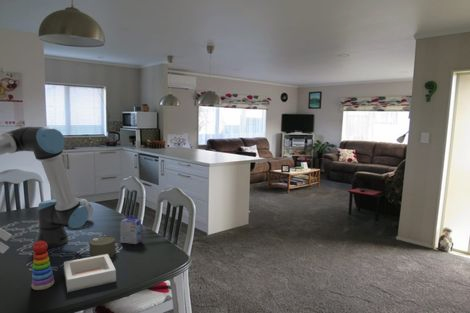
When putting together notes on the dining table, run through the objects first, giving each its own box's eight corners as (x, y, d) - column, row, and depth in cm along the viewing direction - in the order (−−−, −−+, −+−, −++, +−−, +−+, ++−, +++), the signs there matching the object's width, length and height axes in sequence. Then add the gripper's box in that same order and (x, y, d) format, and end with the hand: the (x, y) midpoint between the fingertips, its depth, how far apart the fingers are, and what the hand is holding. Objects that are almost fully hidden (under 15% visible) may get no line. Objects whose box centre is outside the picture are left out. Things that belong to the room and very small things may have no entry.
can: (103, 260, 155) (103, 246, 155) (84, 256, 160) (83, 242, 159) (120, 251, 167) (120, 238, 166) (101, 247, 171) (101, 234, 170)
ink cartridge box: (141, 240, 181) (141, 215, 179) (136, 244, 175) (136, 218, 174) (125, 239, 183) (125, 213, 181) (120, 242, 177) (119, 216, 176)
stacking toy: (37, 281, 135) (35, 237, 132) (57, 280, 135) (56, 237, 133) (27, 291, 127) (24, 244, 125) (48, 290, 127) (46, 244, 125)
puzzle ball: (64, 226, 201) (63, 202, 200) (70, 218, 216) (70, 196, 214) (91, 224, 205) (90, 201, 203) (95, 217, 219) (94, 195, 218)
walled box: (64, 273, 142) (63, 261, 141) (108, 264, 151) (107, 253, 151) (67, 292, 127) (67, 279, 126) (116, 281, 136) (115, 269, 135)
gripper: (-49, 209, 123) (2, 241, 133) (-67, 229, 102) (-5, 265, 112) (-32, 194, 126) (17, 226, 135) (-46, 210, 104) (13, 247, 114)
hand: (7, 244), depth 123 cm, fingers open, 13 cm apart
